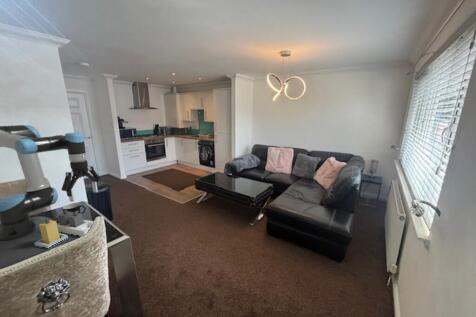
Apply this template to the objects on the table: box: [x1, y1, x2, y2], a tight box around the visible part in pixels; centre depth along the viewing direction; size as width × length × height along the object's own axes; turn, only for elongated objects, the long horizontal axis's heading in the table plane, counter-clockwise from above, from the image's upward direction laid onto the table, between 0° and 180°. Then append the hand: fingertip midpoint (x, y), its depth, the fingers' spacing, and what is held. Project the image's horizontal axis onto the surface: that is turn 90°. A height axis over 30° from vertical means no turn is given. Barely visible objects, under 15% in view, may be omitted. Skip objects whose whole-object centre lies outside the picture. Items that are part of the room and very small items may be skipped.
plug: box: [38, 218, 60, 244], centre depth 110 cm, size 5×5×14 cm
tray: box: [34, 232, 69, 249], centre depth 111 cm, size 10×10×2 cm
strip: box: [57, 210, 95, 237], centre depth 122 cm, size 24×10×12 cm, turn 75°
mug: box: [61, 202, 87, 214], centre depth 135 cm, size 12×9×10 cm
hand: (84, 196), depth 113 cm, fingers open, 13 cm apart
